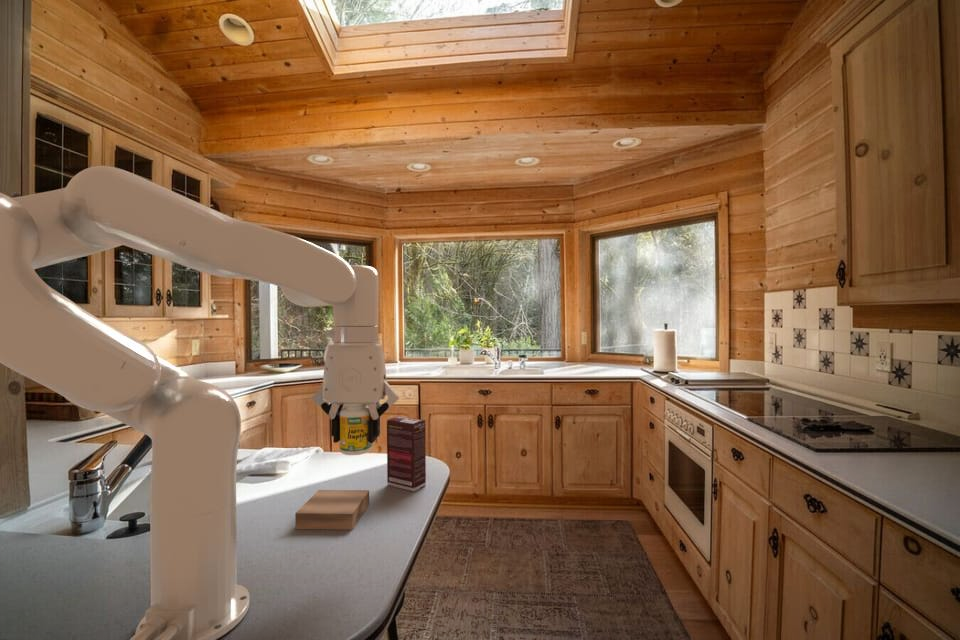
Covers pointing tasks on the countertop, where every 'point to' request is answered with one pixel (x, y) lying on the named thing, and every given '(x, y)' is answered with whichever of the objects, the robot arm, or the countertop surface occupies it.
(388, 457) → the supplement box
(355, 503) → the square wooden block
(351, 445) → the supplement bottle
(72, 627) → the countertop surface
